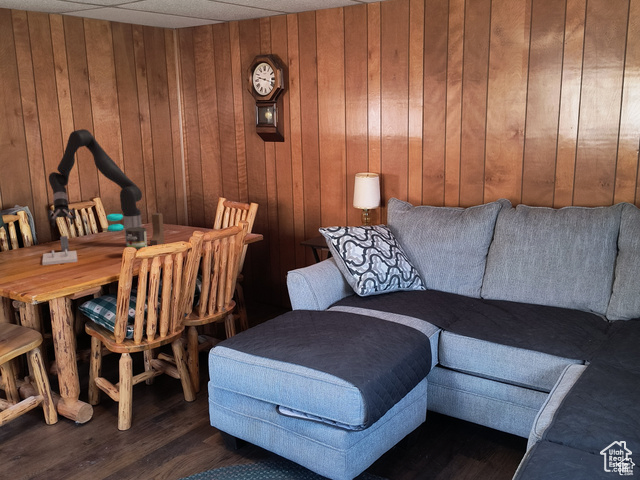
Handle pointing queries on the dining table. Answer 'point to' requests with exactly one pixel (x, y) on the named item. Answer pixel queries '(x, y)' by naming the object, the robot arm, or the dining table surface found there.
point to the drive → (64, 243)
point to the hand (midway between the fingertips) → (62, 225)
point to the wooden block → (157, 229)
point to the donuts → (115, 218)
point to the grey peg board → (59, 257)
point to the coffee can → (136, 237)
